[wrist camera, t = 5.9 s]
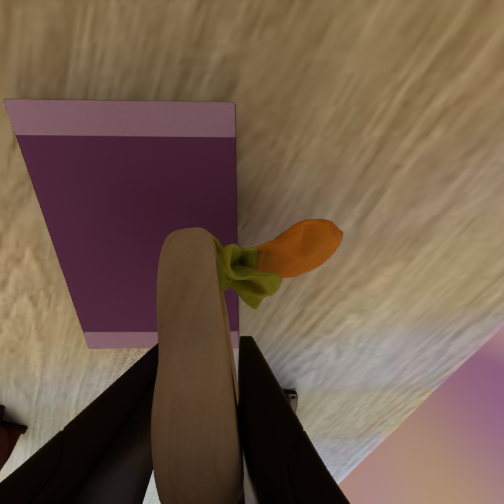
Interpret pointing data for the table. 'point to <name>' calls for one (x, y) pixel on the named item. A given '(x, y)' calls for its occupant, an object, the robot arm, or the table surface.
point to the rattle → (213, 352)
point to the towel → (127, 199)
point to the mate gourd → (8, 437)
